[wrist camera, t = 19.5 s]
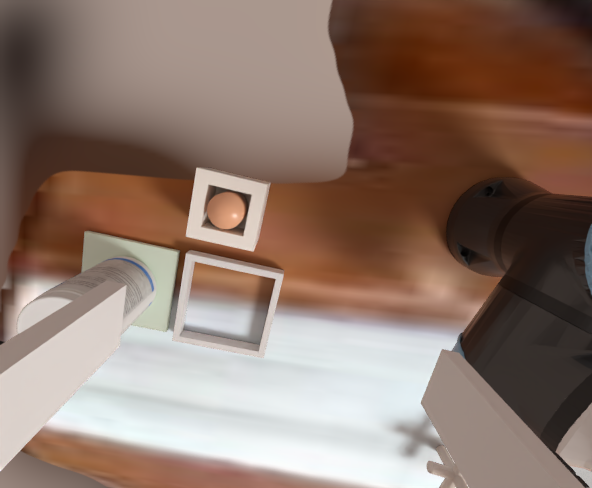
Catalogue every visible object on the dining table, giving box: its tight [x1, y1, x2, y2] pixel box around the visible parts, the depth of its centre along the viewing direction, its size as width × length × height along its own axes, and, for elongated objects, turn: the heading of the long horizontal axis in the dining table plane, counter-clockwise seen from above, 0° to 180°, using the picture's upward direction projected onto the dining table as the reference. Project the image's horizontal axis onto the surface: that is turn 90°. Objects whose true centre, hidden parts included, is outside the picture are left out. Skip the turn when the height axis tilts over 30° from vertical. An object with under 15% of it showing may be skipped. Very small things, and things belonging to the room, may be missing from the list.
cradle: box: [172, 250, 284, 358], centre depth 48 cm, size 15×15×2 cm
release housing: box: [186, 168, 271, 251], centre depth 42 cm, size 9×9×7 cm
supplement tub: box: [17, 256, 157, 335], centre depth 40 cm, size 10×10×15 cm
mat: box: [81, 231, 180, 332], centre depth 47 cm, size 14×14×1 cm
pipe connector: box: [427, 445, 468, 488], centre depth 53 cm, size 10×10×10 cm
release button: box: [207, 191, 248, 229], centre depth 40 cm, size 5×5×5 cm
